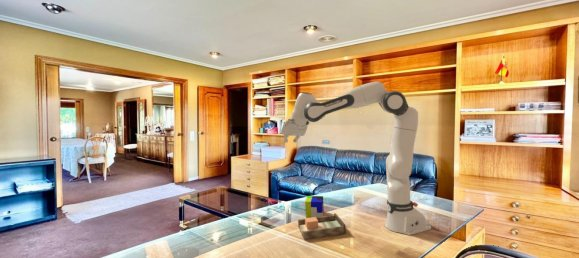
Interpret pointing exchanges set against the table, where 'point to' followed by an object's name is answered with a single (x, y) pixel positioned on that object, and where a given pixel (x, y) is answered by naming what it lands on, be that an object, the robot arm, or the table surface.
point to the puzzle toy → (314, 206)
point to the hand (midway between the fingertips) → (290, 142)
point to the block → (311, 223)
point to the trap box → (323, 227)
